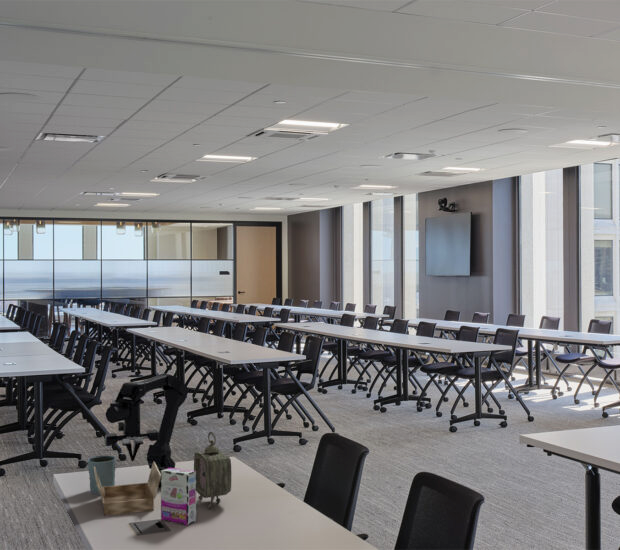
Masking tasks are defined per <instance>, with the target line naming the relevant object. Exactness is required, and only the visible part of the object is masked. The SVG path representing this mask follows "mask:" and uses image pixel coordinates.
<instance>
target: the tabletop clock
mask: <svg viewBox="0 0 620 550" xmlns="http://www.w3.org/2000/svg"><path fill="white" fill-rule="evenodd" d="M207 435H208V436H207V437H208V443H209V445H207V446H206V447H205V448H204V451H198V452H197V451H196V452H194V456H193V458H194V459H193V471H196V493H197V494H198V495H199V496H198V497H197V499H198V500H199V501H203V498H204V499H207V498H210V502H209V504H208V509H209V510H212V509H213V507H214V505H213V501H214V499H215V502H216V503H217V504H219V503H221V498H219V497H221V496H226V495H227V494H229V493H230V492H231V491H232V462H231V458H230V456H228V455H227V454H226V453H223V452H222V451H220V450H219V447H218V446H217V445H215V444H216V442H217V439H216V434H215V433H214V432H213V431H209V433H208V434H207ZM210 435H212V437H213V439H210Z"/></svg>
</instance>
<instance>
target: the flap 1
mask: <svg viewBox="0 0 620 550" xmlns="http://www.w3.org/2000/svg"><path fill="white" fill-rule="evenodd" d="M94 472H95V479H96V483H97V486H98V489H99V492H100V494H99V496H100V499H101V501H103V502H102V505H103V504H104V503H105V502H104V497H103V491H102V486H101V483H100V480H99V477H98V474H97V471H96V468H95V467H94Z"/></svg>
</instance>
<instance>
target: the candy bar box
mask: <svg viewBox="0 0 620 550" xmlns="http://www.w3.org/2000/svg"><path fill="white" fill-rule="evenodd" d="M160 520H161V521H163V522H168V523H174V524H179V525H185V526H189V525H192V524H194V523H196V522H197V491H196V471H194V470H190V469H184V468H183V469H182V468H177V467H175V468H167V469H164V470H162V471H161V487H160Z"/></svg>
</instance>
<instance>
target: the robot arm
mask: <svg viewBox="0 0 620 550" xmlns="http://www.w3.org/2000/svg"><path fill="white" fill-rule="evenodd" d="M159 388H161V390H163V392H164V401H165V403H166V405H165V408H164V412H163V415H162V419H161V424H160V426H159V431H158V430H157V429H150V430H149V429H147V430H146V432H145V433H144V432H143V433H141V405H143V404H145V401H144V400H143V399H142V398H143V397H146V394H147V393H148V392H152V391H154V390H156V389H159ZM188 393H189V388H188V386H187V385H186V383H184V382H182V381H180V380H179V379H177V378H175V376H173V375H172V374H169V373H159V375H155V376H152V377H149V378H147V379H144V380H141V381H128V382H124V383H122V386H121V387H120V390H119V392H118V394H117V396H116V397H115V398H116V399H115V400H114V402H111V403H109V407H107V409H106V412H105V418H106V420H107V421H108V423H111V424H114V423H117V430H118V432H122V434H121V435H118V434H117V433H116V432H113V433H106V434H105V435H104V442H105V445H109V446H110V445H116V444H117V443H118V442H119V441H120V442H121V445H122V446H124V447H126V449H127V452H128V454H129V457H130V460H131V462H135V458H136V456H137V454H138V451H139V449H140V447H141V446H142V445H143V444H144V439H145V440H146V439H148V440H149V441H151V442H154V443H153V444H149V446H148V451H147V453H146V454H145V455H146V461H147V464H148V467H149V468H148V469H149V470H151V468H152V464H153V461H154V462H155V464H156V466H157V468H158V470H159V472H160V474H161V471H162V470H164V469H167V468H176V462H175V461H174V460H173V458H171V457H172V450H171V445H170V442H171V439H172V436H173V433H174V427H175V424H176V420H177V416H178V412H179V408H180V407H181V406H182V405H183V403H185V401H186V399H187V397H188ZM132 440H133V447H132V443H131V441H132ZM160 488H161V479H160V482H159V486H158V489H160Z"/></svg>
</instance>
